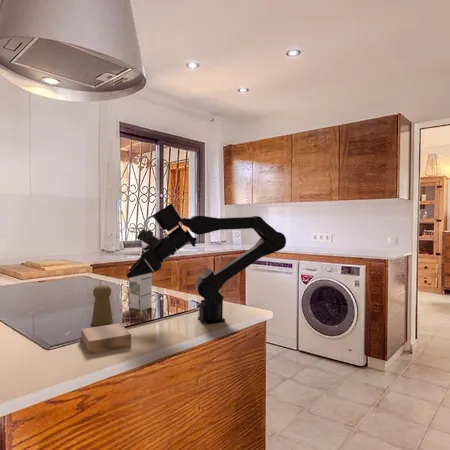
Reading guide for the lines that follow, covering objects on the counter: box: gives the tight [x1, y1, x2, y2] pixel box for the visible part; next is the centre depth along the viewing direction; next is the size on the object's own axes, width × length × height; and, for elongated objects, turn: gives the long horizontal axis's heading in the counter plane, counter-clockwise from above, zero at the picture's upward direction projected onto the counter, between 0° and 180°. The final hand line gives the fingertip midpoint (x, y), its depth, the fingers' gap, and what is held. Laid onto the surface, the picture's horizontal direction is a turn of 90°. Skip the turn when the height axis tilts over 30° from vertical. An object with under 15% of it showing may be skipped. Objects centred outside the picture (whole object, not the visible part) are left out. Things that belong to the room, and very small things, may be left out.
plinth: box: [80, 323, 132, 355], centre depth 90 cm, size 10×10×3 cm
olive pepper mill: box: [91, 285, 113, 326], centre depth 107 cm, size 6×6×11 cm
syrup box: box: [128, 266, 153, 311], centre depth 123 cm, size 6×6×14 cm
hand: (128, 273), depth 105 cm, fingers open, 9 cm apart
